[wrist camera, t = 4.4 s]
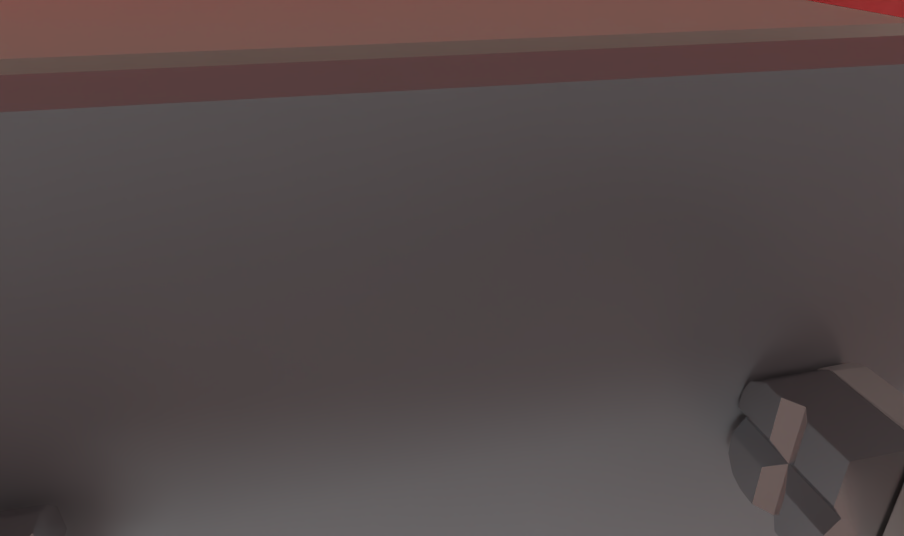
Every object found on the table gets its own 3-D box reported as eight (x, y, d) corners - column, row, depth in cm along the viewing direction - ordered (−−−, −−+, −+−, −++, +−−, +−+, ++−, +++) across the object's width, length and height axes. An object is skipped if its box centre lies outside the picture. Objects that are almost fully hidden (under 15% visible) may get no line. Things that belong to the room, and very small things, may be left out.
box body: (680, -23, 16) (926, 22, 10) (614, 444, 22) (738, 643, 16) (11, -7, 13) (-212, 67, 7) (157, 518, 20) (104, 789, 14)
